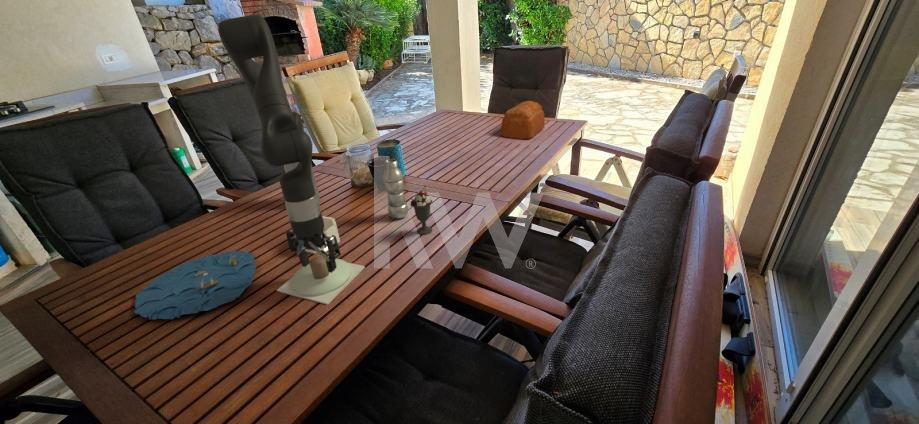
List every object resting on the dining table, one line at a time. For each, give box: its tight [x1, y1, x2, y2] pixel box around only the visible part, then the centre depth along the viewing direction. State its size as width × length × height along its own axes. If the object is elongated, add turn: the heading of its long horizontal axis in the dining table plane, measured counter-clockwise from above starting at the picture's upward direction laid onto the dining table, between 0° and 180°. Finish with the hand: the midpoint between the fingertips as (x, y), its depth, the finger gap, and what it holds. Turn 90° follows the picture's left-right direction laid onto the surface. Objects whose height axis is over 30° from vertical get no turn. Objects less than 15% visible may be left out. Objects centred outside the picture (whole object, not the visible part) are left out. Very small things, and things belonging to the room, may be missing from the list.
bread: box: [501, 100, 545, 140], centre depth 210 cm, size 17×24×15 cm
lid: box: [291, 255, 351, 296], centre depth 104 cm, size 15×15×6 cm
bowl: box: [299, 215, 341, 254], centre depth 121 cm, size 11×12×6 cm
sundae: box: [410, 185, 433, 235], centre depth 122 cm, size 7×7×15 cm
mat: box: [276, 262, 366, 306], centre depth 105 cm, size 16×16×1 cm
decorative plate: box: [133, 249, 257, 321], centre depth 105 cm, size 30×30×5 cm
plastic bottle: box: [382, 158, 409, 220], centre depth 130 cm, size 6×7×20 cm
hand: (319, 267), depth 104 cm, fingers open, 8 cm apart
